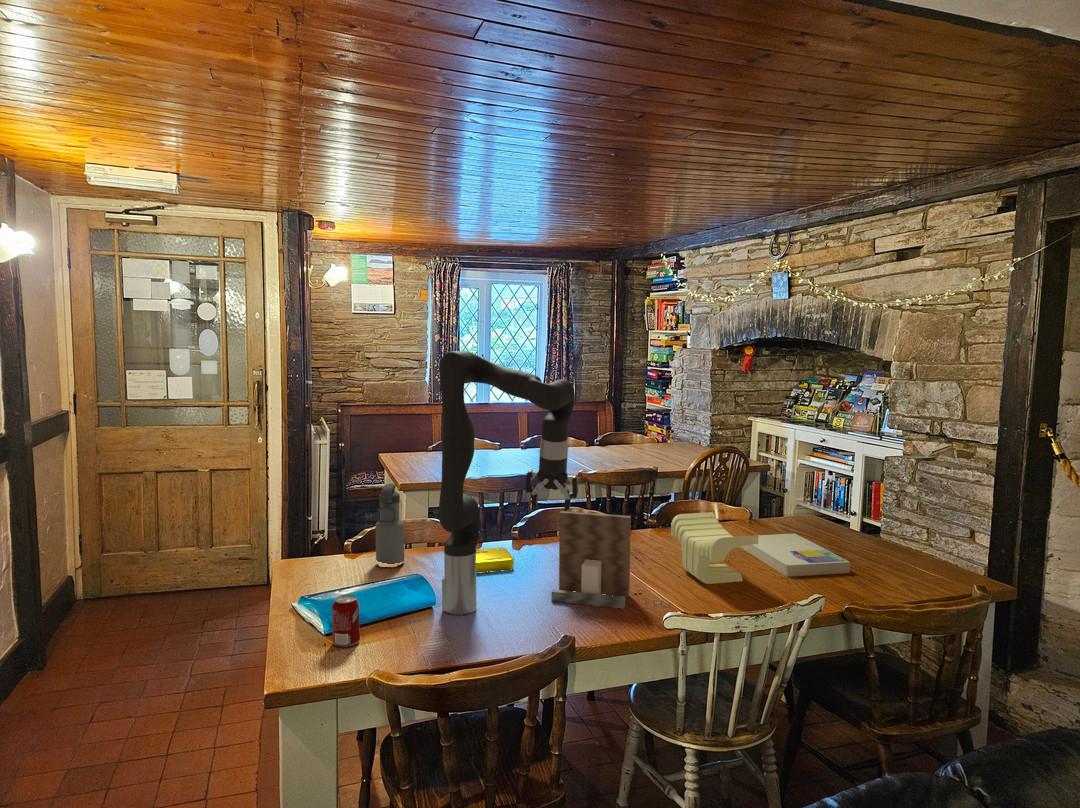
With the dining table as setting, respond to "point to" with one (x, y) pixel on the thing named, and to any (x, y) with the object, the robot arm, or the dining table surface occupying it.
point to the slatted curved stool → (707, 546)
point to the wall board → (594, 557)
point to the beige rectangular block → (591, 577)
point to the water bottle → (389, 527)
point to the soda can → (345, 620)
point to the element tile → (493, 559)
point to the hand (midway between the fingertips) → (550, 508)
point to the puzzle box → (796, 556)
